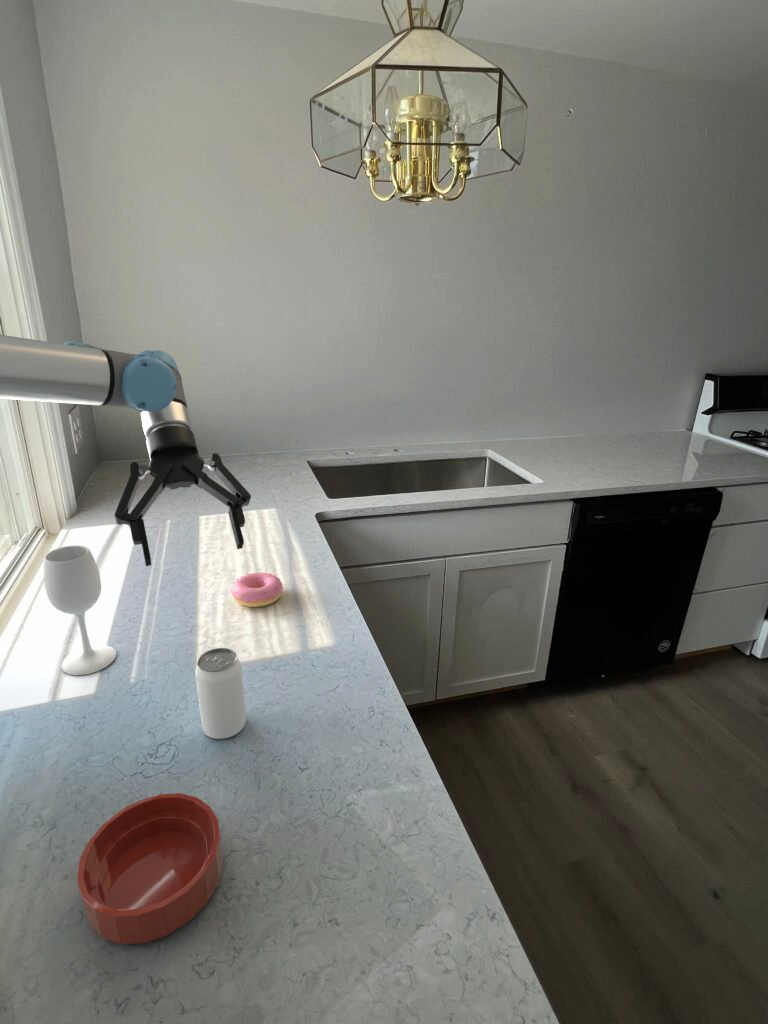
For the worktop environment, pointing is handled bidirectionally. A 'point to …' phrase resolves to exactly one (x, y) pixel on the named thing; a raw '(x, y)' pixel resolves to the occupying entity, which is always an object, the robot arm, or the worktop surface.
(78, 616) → the wineglass
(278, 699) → the worktop surface
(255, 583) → the doughnut
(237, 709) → the can
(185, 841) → the bowl
